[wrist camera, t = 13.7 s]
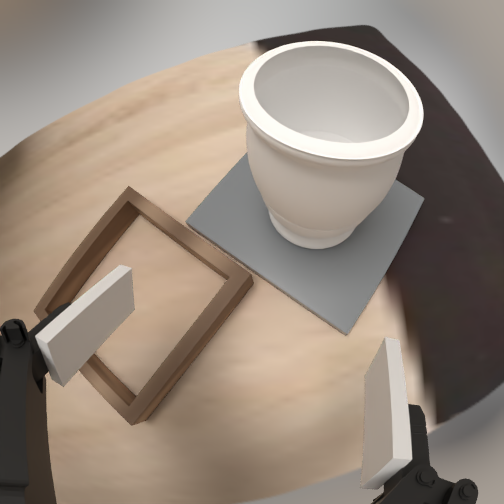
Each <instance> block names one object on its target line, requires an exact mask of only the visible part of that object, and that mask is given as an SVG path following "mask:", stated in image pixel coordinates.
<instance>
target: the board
mask: <svg viewBox="0 0 504 504" xmlns="http://www.w3.org/2000/svg"><path fill="white" fill-rule="evenodd" d="M423 200H424V198H423V197H421V196H420V195H418V194H417V193H415V192H414V191H412V190H411V189H409V188H408V187H406V186H405V185H403V184H402V183H400V182H398V181H397V180H395V181H394V183H393V185H392V186H391V188H390V190H389V192H388V193H387V195H386V196H385V197H384V199H383V200H382V201H381V203H380V204H379V205H378V206H377V207H376V208H375V209H374V210H373V211H372V212H371V213H370V214H368V216H367V217H366V218H365V219H364V220H363V221H362V222H361V223H360V224H359V225H357V226H356V227H355V229H354V231H353V232H352V233H351V235H350V236H349V237H348V238H347V239H345V240H344V241H343V242H341V243H339V244H338V245H335V246H333V247H329V248H324V249H309V248H304V247H301V246H298V245H295V244H293V243H291V242H290V241H288V240H287V239H285V238H284V237H283V236H282V235H281V234H280V233H279V232H278V231H277V230H276V228H275V227H274V225H273V223H272V221H271V219H270V216H269V210H268V208H267V206H266V204H265V202H264V200H263V198H262V196H261V193H260V191H259V189H258V187H257V185H256V183H255V181H254V178H253V175H252V172H251V169H250V165H249V160H248V154H247V153H246V154H245V155H244V156H243V157H242V158H241V159H240V160H239V161H238V163H237V164H236V165H235V166H234V167H233V168H232V169H231V170H230V171H229V172H228V173H227V175H226V176H225V177H224V178H223V179H222V180H221V181H220V182H219V183H218V185H217V186H216V187H215V188H214V189H213V190H212V191H211V192H210V194H209V195H208V196H207V197H206V198H205V199H204V200H203V202H202V203H201V204H200V205H199V206H198V207H197V209H196V210H195V211H194V212H193V213H192V214H191V216H190V217H189V218H188V219H187V220H186V221H185V222H186V223H187V225H188V226H189V227H191V228H192V229H193V230H195V231H196V232H198V233H199V234H200V235H202V236H203V237H205V238H206V239H207V240H209V241H210V242H212V243H213V244H214V245H216V246H217V247H219V248H220V249H222V250H223V251H224V252H226V253H227V254H229V255H230V256H231V257H233V258H234V259H236V260H237V261H239V262H240V263H241V264H243V265H244V266H246V267H247V268H249V269H250V270H251V271H253V272H254V273H256V274H257V275H259V276H260V277H261V278H263V279H264V280H266V281H267V282H269V283H270V284H271V285H273V286H274V287H276V288H277V289H279V290H280V291H281V292H283V293H284V294H286V295H287V296H289V297H290V298H292V299H293V300H294V301H296V302H297V303H299V304H300V305H302V306H303V307H305V308H306V309H307V310H309V311H310V312H312V313H313V314H315V315H316V316H318V317H319V318H321V319H322V320H323V321H325V322H326V323H328V324H329V325H331V326H332V327H334V328H335V329H337V330H338V331H339V332H341V333H342V334H344V335H347V334H348V333H349V331H350V330H351V328H352V327H353V325H354V323H355V322H356V320H357V319H358V317H359V316H360V314H361V312H362V311H363V309H364V308H365V306H366V304H367V303H368V301H369V300H370V298H371V296H372V295H373V293H374V291H375V290H376V288H377V286H378V285H379V283H380V281H381V280H382V278H383V276H384V274H385V273H386V271H387V269H388V267H389V266H390V264H391V262H392V260H393V258H394V257H395V255H396V253H397V251H398V249H399V247H400V246H401V244H402V242H403V240H404V238H405V236H406V234H407V232H408V230H409V229H410V227H411V225H412V223H413V221H414V219H415V217H416V215H417V213H418V211H419V209H420V207H421V204H422V202H423Z"/></svg>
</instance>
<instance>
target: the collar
mask: <svg viewBox="0 0 504 504" xmlns="http://www.w3.org/2000/svg"><path fill="white" fill-rule="evenodd" d="M139 214H140V215H142V216H143V217H144V218H146V219H147V220H148V221H149V222H151V223H152V224H153V225H155V226H156V227H157V228H158V229H160V230H161V231H162V232H164V233H165V234H166V235H168V236H169V237H170V238H172V239H173V240H174V241H175V242H177V243H178V244H179V245H181V246H182V247H183V248H185V249H186V250H187V251H189V252H190V253H191V254H193V255H194V256H195V257H197V258H198V259H199V260H201V261H202V262H203V263H205V264H206V265H207V266H209V267H210V268H211V269H213V270H214V271H215V272H217V273H218V274H219V275H221V276H222V277H224V278H225V279H226V280H227V281H226V283H225V284H224V285H223V287H222V288H221V289H220V290H219V292H218V293H217V294H216V296H215V297H214V298H213V299H212V301H211V302H210V303H209V304H208V306H207V307H206V308H205V310H204V311H203V312H202V313H201V315H200V316H199V317H198V319H197V320H196V321H195V322H194V324H193V325H192V326H191V327H190V329H189V330H188V331H187V333H186V334H185V335H184V336H183V338H182V339H181V340H180V342H179V343H178V344H177V345H176V347H175V348H174V349H173V351H172V352H171V353H170V354H169V356H168V357H167V358H166V360H165V361H164V362H163V363H162V365H161V366H160V367H159V368H158V370H157V371H156V372H155V374H154V375H153V376H152V377H151V379H150V380H149V381H148V383H147V384H146V385H145V386H144V388H143V389H142V390H141V392H140V393H139V394H138V395H137V397H136V396H135V395H134V394H133V393H132V392H131V391H130V390H129V389H128V388H127V387H126V386H125V385H124V384H123V383H122V382H121V381H120V380H119V379H118V378H117V377H116V376H115V375H114V374H113V373H112V372H111V371H110V370H109V369H108V368H107V367H106V366H105V365H104V364H103V363H102V362H101V361H100V360H99V358H98V357H97V356H96V355H95V354H93V355H92V356H91V357H90V358H89V359H88V360H87V361H86V362H85V363H84V365H83V366H82V367H81V368H80V369H79V371H80V372H81V373H82V374H83V376H84V377H85V378H86V379H87V380H88V381H89V382H90V383H91V385H92V386H93V387H94V388H95V389H96V390H97V391H98V392H99V393H100V394H101V395H102V396H103V398H104V399H105V400H106V401H107V402H108V403H109V404H110V405H111V406H112V407H113V408H114V409H115V410H116V411H117V412H118V413H119V414H120V415H121V416H122V417H123V418H124V419H125V420H126V421H127V422H128V423H129V424H130V425H135V424H138V423H141V422H144V421H146V420H147V419H148V417H149V416H150V415H151V414H152V412H153V411H154V410H155V409H156V407H157V406H158V405H159V404H160V402H161V401H162V400H163V399H164V397H165V396H166V395H167V394H168V392H169V391H170V390H171V389H172V387H173V386H174V385H175V384H176V382H177V381H178V380H179V379H180V377H181V376H182V375H183V374H184V372H185V371H186V370H187V368H188V367H189V366H190V365H191V363H192V362H193V361H194V360H195V358H196V357H197V356H198V355H199V353H200V352H201V351H202V349H203V348H204V347H205V346H206V344H207V343H208V342H209V340H210V339H211V338H212V337H213V335H214V334H215V333H216V331H217V330H218V329H219V328H220V326H221V325H222V324H223V322H224V321H225V320H226V319H227V317H228V316H229V315H230V313H231V312H232V311H233V310H234V308H235V307H236V306H237V304H238V303H239V302H240V300H241V299H242V298H243V297H244V295H245V294H246V293H247V291H248V290H249V289H250V287H251V286H252V285H253V284H254V282H253V279H252V276H251V274H250V273H249V272H247V271H246V270H245V269H243V268H242V267H240V266H239V265H238V264H236V263H235V262H233V261H232V260H231V259H229V258H228V257H226V256H225V255H223V254H222V253H221V252H219V251H218V250H216V249H215V248H214V247H212V246H211V245H209V244H208V243H207V242H205V241H204V240H202V239H201V238H200V237H198V236H197V235H196V234H194V233H193V232H191V231H190V230H189V229H187V228H186V227H184V226H183V225H182V224H180V223H179V222H177V221H176V220H175V219H173V218H172V217H171V216H169V215H168V214H166V213H165V212H164V211H162V210H161V209H160V208H158V207H157V206H155V205H154V204H153V203H151V202H150V201H149V200H147V199H146V198H144V197H143V196H142V195H140V194H139V193H138V192H136V191H135V190H134V189H132V188H131V187H130V186H128V187H127V189H126V190H125V191H124V192H123V193H122V194H121V195H120V196H119V198H118V199H117V200H116V201H115V202H114V203H113V205H112V206H111V207H110V208H109V209H108V211H107V212H106V213H105V214H104V215H103V217H102V218H101V219H100V220H99V221H98V223H97V224H96V225H95V226H94V228H93V229H92V230H91V231H90V233H89V234H88V235H87V236H86V238H85V239H84V240H83V242H82V243H81V244H80V245H79V247H78V248H77V249H76V251H75V252H74V253H73V255H72V256H71V257H70V259H69V260H68V261H67V263H66V264H65V266H64V267H63V268H62V270H61V271H60V272H59V274H58V275H57V277H56V278H55V280H54V281H53V282H52V284H51V285H50V287H49V288H48V290H47V291H46V293H45V294H44V296H43V297H42V299H41V300H40V302H39V303H38V305H37V306H36V308H35V309H34V312H35V314H36V315H37V317H38V318H39V320H40V321H42V320H43V319H44V318H46V317H47V316H48V315H49V314H50V313H52V312H53V311H54V310H55V309H56V308H57V307H59V306H61V305H63V304H65V303H68V302H69V303H71V301H72V300H73V298H74V297H75V296H76V294H77V293H78V291H79V290H80V289H81V287H82V286H83V284H84V283H85V282H86V280H87V279H88V278H89V276H90V275H91V274H92V272H93V271H94V270H95V268H96V267H97V266H98V264H99V263H100V262H101V261H102V259H103V258H104V257H105V255H106V254H107V253H108V252H109V250H110V249H111V248H112V247H113V245H114V244H115V243H116V242H117V240H118V239H119V238H120V237H121V235H122V234H123V233H124V232H125V231H126V229H127V228H128V227H129V226H130V224H131V223H132V222H133V221H134V220H135V219H136V217H137V216H138V215H139Z"/></svg>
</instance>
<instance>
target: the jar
mask: <svg viewBox="0 0 504 504" xmlns="http://www.w3.org/2000/svg"><path fill="white" fill-rule="evenodd" d="M239 102H240V107H241V110H242V113H243V115H244V117H245V119H246V121H247V132H246V142H247V154H248V160H249V165H250V169H251V172H252V175H253V178H254V181H255V183H256V185H257V187H258V189H259V191H260V193H261V196H262V198H263V200H264V202H265V204H266V206H267V208H268V210H269V216H270V219H271V221H272V223H273V225H274V227H275V228H276V230H277V231H278V232H279V233H280V234H281V235H282V236H283V237H284V238H285V239H287V240H288V241H290V242H291V243H293V244H295V245H298V246H301V247H304V248H309V249H324V248H329V247H333V246H335V245H338V244H339V243H341V242H343V241H344V240H345V239H347V238H348V237H349V236H350V235H351V233H352V232H353V231H354V229H355V227H356V226H357V225H359V224H360V223H361V222H362V221H363V220H364V219H365V218H366V217H367V216H368V214H370V213H371V212H372V211H373V210H374V209H375V208H376V207H377V206H378V205H379V204H380V203H381V201H382V200H383V199H384V197H385V196H386V195H387V193H388V192H389V190H390V188H391V186H392V185H393V183H394V181H395V178H396V176H397V174H398V171H399V168H400V165H401V162H402V158H403V154H404V151H405V150H406V149H407V148H408V147H409V146H410V145H411V144H412V143H413V141H414V140H415V138H416V136H417V134H418V133H419V131H420V129H421V126H422V122H423V107H422V103H421V100H420V97H419V95H418V93H417V91H416V89H415V88H414V86H413V85H412V84H411V82H410V81H409V80H408V79H407V78H406V77H405V75H403V74H402V73H401V72H400V71H399V70H398V69H397V68H395V67H394V66H393V65H391V64H390V63H388V62H387V61H385V60H384V59H382V58H380V57H378V56H376V55H374V54H372V53H370V52H368V51H365V50H362V49H359V48H356V47H353V46H349V45H345V44H340V43H334V42H323V41H309V42H298V43H292V44H288V45H284V46H281V47H278V48H275V49H273V50H270V51H268V52H266V53H265V54H263V55H261V56H260V57H258V58H257V59H256V60H254V61H253V62H252V63H251V64H250V65H249V66H248V68H247V69H246V70H245V72H244V74H243V76H242V78H241V81H240V85H239Z"/></svg>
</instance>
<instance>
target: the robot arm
mask: <svg viewBox="0 0 504 504" xmlns="http://www.w3.org/2000/svg"><path fill="white" fill-rule="evenodd" d="M134 310H135V308H134V295H133V280H132V268H130V267H127V266H123V265H119V266H118V267H117V268H115V269H114V270H113V271H111V272H110V273H109V274H108V275H106V276H105V277H104V278H103V279H102V280H100V281H99V282H98V283H97V284H95V285H94V286H93V287H92V288H90V289H89V290H88V291H87V292H86V293H84V294H83V295H82V296H81V297H80V298H78V299H77V300H76V301H75V302H74V303H72V304H71V303H69V302H68V303H65V304H63V305H61V306H59V307H57V308H56V309H55V310H54V311H53V312H52V313H50V314H49V315H48V316H47V317H46V318H44V319H43V320H42V321H41V322H40V323H39V324H37V325H36V326H35V327H34V328H33V329H32V330H30V331H29V332H27V329H26V326H25V324H24V322H23V321H22V320H19V319H11V320H8V321H6V322H5V323H4V324H3V325H2V326H1V328H0V331H1V334H2V336H1V335H0V504H57V502H56V497H55V491H54V485H53V478H52V471H51V463H50V454H49V444H48V431H47V412H46V378H45V374H46V373H47V372H48V371H49V374H50V376H51V378H52V380H54V381H55V382H57V383H58V384H60V385H62V386H63V387H64V386H65V385H66V384H67V382H68V381H69V380H70V379H71V378H72V377H73V376H74V375H75V373H76V372H77V371H78V370H79V369H80V368H81V367H82V366H83V365H84V363H85V362H86V361H87V360H88V359H89V358H90V357H91V356H92V355H93V354H94V352H95V351H96V350H97V349H98V348H99V347H100V346H101V345H102V344H103V343H104V342H105V341H106V339H107V338H108V337H109V336H110V335H111V334H112V333H113V332H114V331H115V330H116V329H117V328H118V327H119V326H120V324H121V323H122V322H123V321H124V320H125V319H126V318H127V317H128V316H129V315H130V314H131V313H132V312H133V311H134ZM425 426H426V421H425V415H424V413H423V411H422V409H421V407H420V406H419V405H411V404H408V399H407V391H406V383H405V375H404V368H403V361H402V354H401V348H400V342H399V340H397V339H393V338H388V337H385V338H384V340H383V342H382V344H381V346H380V348H379V350H378V352H377V354H376V356H375V358H374V359H373V361H372V363H371V365H370V367H369V369H368V371H367V372H366V374H365V416H364V442H363V460H362V473H361V485H360V488H366V489H379V488H380V487H381V486H382V485H384V492H383V493H382V494H381V495H379V496H378V497H377V498H375V499H374V500H373V502H372V503H371V504H475V503H476V500H477V497H478V489H477V486H476V485H475V483H474V482H473V481H471V480H470V479H461V480H459V481H458V482H457V483H452V482H450V481H447V480H444V479H441V478H439V477H438V475H437V472H436V471H435V469H433V467H431V466H430V461H429V449H428V439H427V435H426V434H427V430H426V427H425Z"/></svg>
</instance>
